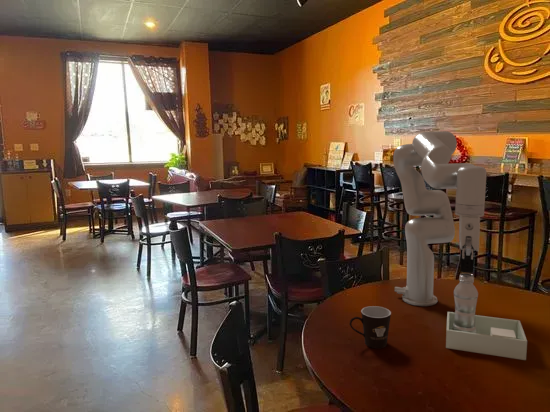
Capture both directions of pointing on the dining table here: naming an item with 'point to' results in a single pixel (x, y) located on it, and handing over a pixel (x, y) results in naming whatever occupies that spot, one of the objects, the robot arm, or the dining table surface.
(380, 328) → the coffee mug
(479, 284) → the dining table surface
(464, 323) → the plastic bottle
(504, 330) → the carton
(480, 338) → the crate
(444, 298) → the dining table surface
